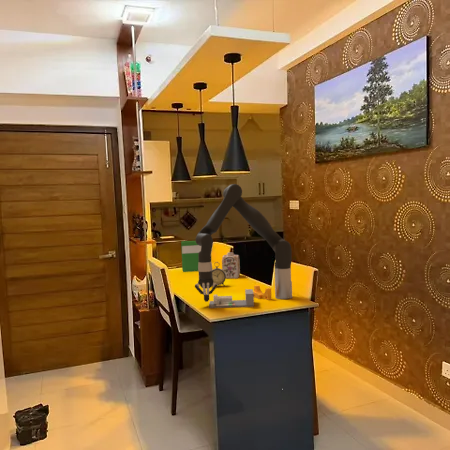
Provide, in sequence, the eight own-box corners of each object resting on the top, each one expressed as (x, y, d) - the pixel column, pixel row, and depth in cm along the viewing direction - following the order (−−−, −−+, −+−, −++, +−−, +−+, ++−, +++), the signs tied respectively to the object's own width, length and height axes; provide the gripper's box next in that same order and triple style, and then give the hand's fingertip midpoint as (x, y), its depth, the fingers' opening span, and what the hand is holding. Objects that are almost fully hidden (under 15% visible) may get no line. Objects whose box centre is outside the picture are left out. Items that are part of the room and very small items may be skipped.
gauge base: (252, 301, 233) (252, 289, 232) (253, 306, 222) (253, 293, 221) (209, 302, 233) (209, 290, 233) (208, 308, 222) (208, 295, 222)
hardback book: (183, 272, 335) (181, 242, 333) (182, 270, 342) (181, 241, 340) (204, 270, 338) (203, 241, 336) (203, 269, 345) (202, 240, 343)
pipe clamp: (252, 297, 244) (251, 286, 243) (257, 296, 246) (257, 285, 246) (265, 301, 234) (265, 289, 233) (271, 299, 236) (271, 288, 236)
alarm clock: (209, 287, 274) (208, 262, 273) (209, 285, 279) (209, 261, 278) (226, 286, 274) (225, 262, 273) (226, 285, 279) (225, 261, 278)
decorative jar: (222, 278, 302) (221, 253, 301) (224, 275, 314) (223, 251, 313) (238, 278, 301) (237, 253, 299) (240, 275, 312) (239, 251, 311)
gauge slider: (232, 301, 230) (231, 294, 230) (232, 304, 222) (231, 297, 222) (214, 301, 230) (213, 294, 230) (213, 305, 222) (213, 298, 222)
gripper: (217, 268, 230) (219, 299, 231) (193, 269, 230) (195, 300, 232) (217, 270, 223) (218, 302, 224) (192, 271, 223) (194, 303, 224)
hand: (206, 301), depth 228 cm, fingers closed
